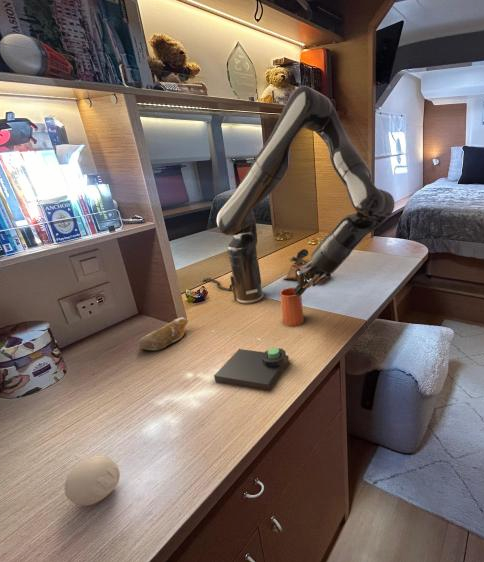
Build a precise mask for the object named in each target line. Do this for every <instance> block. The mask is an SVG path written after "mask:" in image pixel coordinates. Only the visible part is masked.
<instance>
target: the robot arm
mask: <svg viewBox="0 0 484 562" xmlns="http://www.w3.org/2000/svg"><path fill="white" fill-rule="evenodd" d="M302 129H306V130H308V131H310V132H315V133H316V134H317V136H319V137H320V138H321V139H322V140H323V142H324V143H325V144H326V146H327V148H328V151H329V158H330V163H331V165H332V168H333V169H334V171H335V173H336V175H337V176H338V177H339V179H340V180H341V182H342V183H343V185H344V186H345V187H346V192H347V195H348V198H349V200H350V202H351V205H352V207H353V209H354V210H355V211H356V212H355V213H353V214H347V215H346V216H344V217H343V218H342V219H341V220H340V221H339V222H338V224H337V225H336V226H335V227H334V228H333V230H332V231H331V232H330V233H329V234H327V235H326V236H325V238H324V239H323V240H322V241H321V242H320V243H319V245H317V247H316V248H315V250H314V251H313V252H312V253H311V260H310V262H309V263H307V264H305V266H304V267H305V269H303V270H300V269H299V268H298V269H296V281H295V282H296V283H297V285H296V286H295V287H293V288H294V290H293V292H294V293H295V295H296V296H300V295H301V296H302V295H303V294H304V293H305V291H306V290H307V289H310V288H311V287H312V286H313V287H315V286H317V285H320V284H319V283H320V282H322V281H324V280H325V279H327V278H328V277H330V276H331V277H332V274H334V273H335V272H336V271H337V269H338V268H339V267H340V266H341V265H342V264H343V263H344V262H345V261H346V260H347V259H348V257H349V256H350V255H351V254H352V252H353V251H354V250H355V249H356V247H357V246H358V245H359V244H360V243H361V242H362V241H363V240H364V238H365V237H366V236H368V235H370V233H372V232H373V231H375V230H376V229H377V228H379V227H380V226H381V225H383V223H385V222H386V221H387V220H388V219H389V218H390V216H392V214H393V212H394V209H395V205H396V203H395V198H394V196H393V195H392V194H391V192H389V191H386V190H384V189H381V188H378V187H377V186H375V184H374V183H373V181H372V177H373V176H372V171H371V170H370V168H369V166H368V164H367V163H366V161H365V160H364V159H363V157H362V156H361V154H360V153H359V151H358V150H357V149H356V147H355V146H354V144H353V143H352V142H351V140H350V138H349V136H348V134H347V132H346V130H345V128H344V127H343V124H342V122H341V120H340V118H339V115H338V113H337V111H336V109H335V107H334V105H333V103H332V101H331V100H330V99H329V97H327V96H326V95H324V94H323V93H322V92H319V91H318V90H315V89H314V88H312V87H310V86H307V85H301V86H298V87H296V89H295V90H293V92H292V93H291V94H290V96H289V97H288V100H287V101H286V103H285V105H284V107H283V109H282V111H281V112H280V115H279V117H278V119H277V121H276V124H275V125H274V127H273V129H272V131H271V133H270V134H269V136H268V138H267V139H266V142H264V144H263V146H262V148H261V149H260V150H259V152H258V154H257V155H256V156H255V158H254V159H253V161H252V163H251V165H250V166H249V168H248V170H247V171H246V173H245V175H244V176H243V177H242V179H241V181H240V182H239V184H238V185H237V188H236V189H235V191H234V192H233V193H232V195H231V196H230V198H229V199H228V200H227V201H226V202H225V203H224V205H222V206H221V208H220V209H219V210H218V213H217V215H216V226H217V229H218V230H219V232H220V233H221V234H223V235H224V236H228V237H232V239H231V241H230V242H229V244H228V245H227V254H228V258H229V265H230V269H231V274H230V277H229V278H230V284H229V288H226V287H223V286H221V285H220V283H219V281H218V280H216V279H214V278H210V277H205V278H206V280H205V278H204V279H203V280H202V282H206V281H211V282H214V283H216V287H217V288H218V289H220V290H223V291H228V292H229V291H232V293H233V298H234V302H235V301H236V302H237V303H239V304H246V305H247V304H249V305H250V304H254V303H257V302H259V301H261V300H263V298H264V295H265V294H264V291H263V284H262V278H261V271H260V264H259V257H258V251H257V244H258V230H257V222H256V217H255V213H254V211H253V210H254V209H255V207H257V206H258V205H259V204H260V203H261V202H262V201H264V200H265V199H266V198H267V197H268V196H269V195H271V194H272V193H273V192H274V191H275V190H276V188H277V187H278V186H279V185H280V183H281V182H282V180H283V179H284V178H285V176H286V174H287V173H288V169H289V165H290V151H291V146H292V144H293V141H294V140H295V139H296V137H297V135H298V134H299V132H300V131H301V130H302ZM330 273H331V274H330Z"/></svg>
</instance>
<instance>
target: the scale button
mask: <svg viewBox="0 0 484 562" xmlns="http://www.w3.org/2000/svg"><path fill="white" fill-rule="evenodd" d="M278 348H279V347H271V348H269V349H267V350H268V358H269V359H276V358H278V357H279V356H280V353H279V349H278Z"/></svg>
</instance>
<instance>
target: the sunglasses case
mask: <svg viewBox="0 0 484 562" xmlns="http://www.w3.org/2000/svg"><path fill="white" fill-rule="evenodd" d="M305 267H306V266H300V265H299V266H297V265H296V264H292V265H291V267H290V269H289V271H288V273H286V276H285V277H284V278H283V280H286V281H293V282H297V281H296V269H298V268H299V269H300V270H303V269H305ZM330 274H331V276H330V277H328V278H327V279H325V280H324V281H322V282H320V283H319V284H318V285H322V286H323V285H324V284H327V282H329V281H331V278H332V273H330Z"/></svg>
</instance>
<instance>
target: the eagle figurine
mask: <svg viewBox="0 0 484 562" xmlns="http://www.w3.org/2000/svg"><path fill="white" fill-rule="evenodd" d="M308 255H309V251H308V249H304V248H303V249H301V250H299V251H298V252H297V254H296V256H294V255H293V256H291V257H290V258H289V262H290V263H291V262H292V263H293V265H295V266H299V267H300V264H302V265H304V266H306V264H305V261H304V258H306V257H308Z"/></svg>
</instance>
